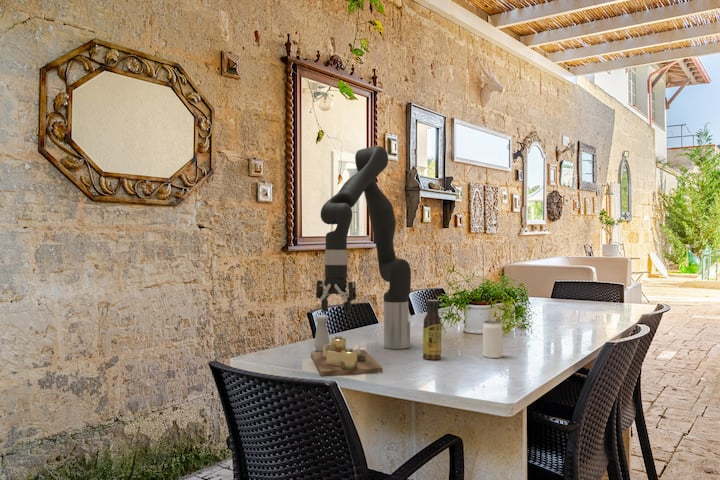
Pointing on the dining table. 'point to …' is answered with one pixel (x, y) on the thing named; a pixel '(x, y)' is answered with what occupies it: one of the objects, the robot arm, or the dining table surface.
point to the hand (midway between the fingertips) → (335, 312)
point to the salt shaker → (321, 333)
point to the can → (492, 339)
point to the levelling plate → (330, 369)
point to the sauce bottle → (432, 332)
